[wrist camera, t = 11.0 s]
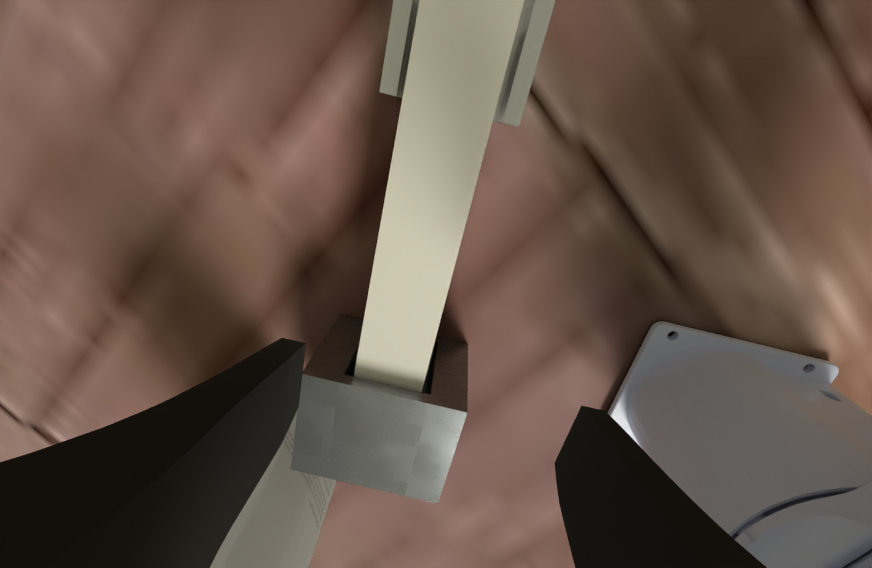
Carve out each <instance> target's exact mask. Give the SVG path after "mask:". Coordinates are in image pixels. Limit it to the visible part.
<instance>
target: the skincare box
mask: <svg viewBox="0 0 872 568" xmlns="http://www.w3.org/2000/svg"><path fill="white" fill-rule="evenodd" d="M296 418H297V412H296V414H295V416H294V419H293V421H292V423H291V425H290V428H289V430H288V432H287V434H286V436H285V438H284V440H283V443H282V444H281V446H280V448H279V449H278V451H277V453H276V454H275V456H274V458H273V459H272V461H271V463H270V464H269V466H268V468H267V469H266V471H265V473H264V474H263V476H262V478H261V479H260V481H259V483H258V484H257V486H256V488H255V489H254V491H253V493H252V494H251V496H250V497H249V499H248V501H247V502H246V504H245V506H244V507H243V509H242V511H241V512H240V514H239V516H238V517H237V519H236V521H235V522H234V524H233V525H232V527H231V529H230V531H229V532H228V534H227V536H226V538H225V540H224V541H223V543H222V545H221V547H220V549H219V550H218V552H217V554H216V556H215V558H214V560H213V562H212V564H211V566H210V568H308V567H309V564H310V561H311V558H312V555H313V552H314V549H315V545H316V542H317V539H318V536H319V533H320V530H321V527H322V524H323V521H324V518H325V514H326V511H327V508H328V505H329V502H330V499H331V496H332V493H333V490H334V486H335V484H336V480H334V479H329V478H325V477H321V476H316V475H312V474H308V473H303V472H299V471H295V470H291V463H292V454H293V445H294V436H295V427H296Z"/></svg>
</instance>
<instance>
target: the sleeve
mask: <svg viewBox="0 0 872 568" xmlns="http://www.w3.org/2000/svg"><path fill="white" fill-rule="evenodd" d="M419 1H420V0H393V6H392V13H391V19H390V26H389V32H388V39H387V45H386V52H385V58H384V65H383V71H382V78H381V84H380V91H379V92H380V93H384V94H388V95H391V96H395V97H399V98H403V92H404V86H405V81H406V75H407V69H408V64H409V58H410V52H411V47H412V41H413V35H414V29H415V24H416V18H417V12H418V7H419ZM554 4H555V0H524V4H523V7H522V11H521V15H520V19H519V23H518V27H517V30H516V34H515V38H514V42H513V46H512V49H511V53H510V57H509V61H508V65H507V68H506V72H505V76H504V80H503V84H502V88H501V91H500V95H499V99H498V103H497V107H496V110H495V114H494V118H493V121H496V122H500V123H504V124H508V125H513V126H518V127H519V125H520V122H521V118H522V115H523V111H524V108H525V104H526V101H527V97H528V94H529V90H530V87H531V84H532V80H533V77H534V73H535V70H536V66H537V63H538V59H539V56H540V52H541V49H542V45H543V42H544V38H545V35H546V32H547V28H548V25H549V21H550V18H551V14H552V11H553V7H554Z"/></svg>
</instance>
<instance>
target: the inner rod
mask: <svg viewBox="0 0 872 568" xmlns="http://www.w3.org/2000/svg"><path fill="white" fill-rule="evenodd" d="M523 4H524V0H420V1H419V7H418V12H417V18H416V24H415V29H414V35H413V41H412V47H411V52H410V58H409V64H408V69H407V75H406V81H405V86H404V92H403V98H402V104H401V109H400V115H399V121H398V126H397V132H396V138H395V144H394V149H393V155H392V161H391V166H390V172H389V178H388V184H387V189H386V195H385V201H384V206H383V212H382V218H381V223H380V229H379V235H378V241H377V246H376V252H375V258H374V263H373V269H372V275H371V281H370V286H369V292H368V298H367V303H366V309H365V315H364V320H363V326H362V332H361V338H360V343H359V349H358V355H357V360H356V366H355V372H354V377H358V378H362V379H367V380H371V381H375V382H379V383H384V384H388V385H392V386H396V387H401V388H405V389H409V390H413V391H418V392H422V389H423V385H424V381H425V377H426V373H427V370H428V366H429V362H430V358H431V354H432V351H433V347H434V343H435V339H436V335H437V331H438V328H439V324H440V320H441V316H442V312H443V309H444V305H445V301H446V297H447V293H448V290H449V286H450V282H451V278H452V274H453V270H454V267H455V263H456V259H457V255H458V251H459V248H460V244H461V240H462V236H463V232H464V229H465V225H466V221H467V217H468V213H469V209H470V206H471V202H472V198H473V194H474V190H475V187H476V183H477V179H478V175H479V171H480V168H481V164H482V160H483V156H484V152H485V149H486V145H487V141H488V137H489V133H490V129H491V126H492V122H493V118H494V114H495V110H496V107H497V103H498V99H499V95H500V91H501V88H502V84H503V80H504V76H505V72H506V68H507V65H508V61H509V57H510V53H511V49H512V46H513V42H514V38H515V34H516V30H517V27H518V23H519V19H520V15H521V11H522V7H523Z"/></svg>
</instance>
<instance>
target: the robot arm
mask: <svg viewBox="0 0 872 568" xmlns="http://www.w3.org/2000/svg"><path fill="white" fill-rule="evenodd" d="M672 331H675V333H674V334H673V335H672V336H668V334H669V333H670V332H672ZM305 346H306V343H302V342H298V341H293V340H289V339H285V338H281V339H279V340H277V341H276V342H274V343H272V344H270V345H269V346H267V347H265V348H263V349H262V350H260V351H258V352H257V353H255V354H253V355H251V356H250V357H248V358H246V359H245V360H243V361H241V362H239V363H238V364H236V365H234V366H232V367H231V368H229V369H227V370H225V371H223V372H222V373H220V374H218V375H216V376H214V377H213V378H211V379H209V380H207V381H205V382H203V383H201V384H199V385H197V386H195V387H193V388H191V389H189V390H187V391H185V392H183V393H181V394H179V395H177V396H175V397H173V398H171V399H169V400H167V401H165V402H162V403H160V404H158V405H156V406H154V407H151V408H149V409H147V410H145V411H142V412H140V413H138V414H135V415H133V416H130V417H128V418H125V419H123V420H121V421H118V422H116V423H113V424H111V425H108V426H106V427H103V428H100V429H98V430H95V431H92V432H89V433H86V434H84V435H81V436H78V437H75V438H72V439H69V440H67V441H64V442H61V443H58V444H55V445H52V446H50V447H47V448H44V449H41V450H38V451H35V452H32V453H29V454H26V455H23V456H20V457H16V458H13V459H10V460H7V461H3V462H0V568H210V566H211V564H212V562H213V560H214V558H215V556H216V554H217V552H218V550H219V549H220V547H221V545H222V543H223V541H224V540H225V538H226V536H227V534H228V532H229V531H230V529H231V527H232V525H233V524H234V522H235V521H236V519H237V517H238V516H239V514H240V512H241V511H242V509H243V507H244V506H245V504H246V502H247V501H248V499H249V497H250V496H251V494H252V493H253V491H254V489H255V488H256V486H257V484H258V483H259V481H260V479H261V478H262V476H263V474H264V473H265V471H266V469H267V468H268V466H269V464H270V463H271V461H272V459H273V458H274V456H275V454H276V453H277V451H278V449H279V448H280V446H281V444H282V443H283V440H284V438H285V436H286V434H287V432H288V430H289V428H290V425H291V423H292V421H293V419H294V416H295V414H296V412H297V410H298V407H299V400H300V391H301V382H302V373H303V364H304V355H305ZM806 365H808V366H807V367H805V366H806ZM804 367H805V368H804ZM838 372H839V368H838V367H837V366H836V365H835V364H833V363H832V362H830V361H827V360H822V359H818V358H814V357H810V356H806V355H802V354H798V353H793V352H789V351H785V350H781V349H777V348H773V347H768V346H764V345H760V344H756V343H752V342H748V341H743V340H739V339H735V338H731V337H727V336H723V335H718V334H714V333H710V332H706V331H702V330H698V329H694V328H689V327H685V326H681V325H677V324H673V323H669V322H664V321H660V322H656V323H655V324H653V325H652V326H651V328H650V330H649V332H648V334H647V336H646V338H645V340H644V342H643V344H642V346H641V348H640V350H639V351H638V353H637V355H636V357H635V359H634V361H633V363H632V365H631V367H630V369H629V371H628V373H627V375H626V377H625V379H624V381H623V383H622V385H621V387H620V389H619V391H618V393H617V395H616V397H615V399H614V401H613V403H612V405H611V407H610V409H609V411H608V413H606V412H605V411H603V410H599V409H594V408H590V407H585V406H581V408H580V410H579V412H578V415H577V417H576V419H575V421H574V423H573V425H572V427H571V429H570V432H569V434H568V436H567V438H566V440H565V442H564V444H563V446H562V449H561V451H560V453H559V455H558V457H557V459H556V461H555V471H556V481H557V489H558V496H559V503H560V508H561V512H562V516H563V520H564V524H565V528H566V532H567V537H568V540H569V544H570V548H571V552H572V556H573V560H574V564H575V568H872V416H871V415H870V414H869V413H867V412H866V411H865V410H863V409H862V408H861V407H859V406H858V405H857V404H855V403H854V402H853V401H851V400H850V399H849V398H847V397H846V396H845V395H843V394H842V393H840V392H839V391H838V390H836V389H835V388H834V387H832V386H831V385H830V384H831V383H832V381H833V380H834V379H835V377H836V376H837V374H838Z"/></svg>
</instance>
